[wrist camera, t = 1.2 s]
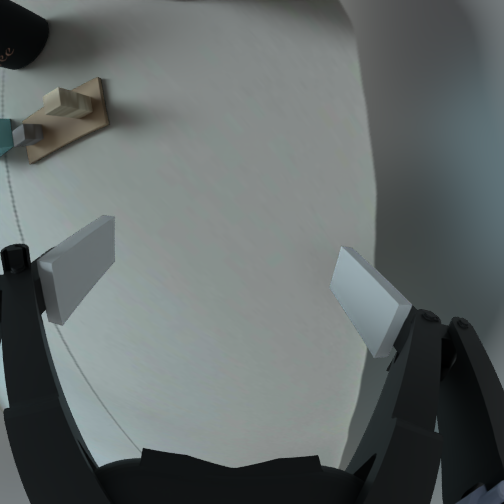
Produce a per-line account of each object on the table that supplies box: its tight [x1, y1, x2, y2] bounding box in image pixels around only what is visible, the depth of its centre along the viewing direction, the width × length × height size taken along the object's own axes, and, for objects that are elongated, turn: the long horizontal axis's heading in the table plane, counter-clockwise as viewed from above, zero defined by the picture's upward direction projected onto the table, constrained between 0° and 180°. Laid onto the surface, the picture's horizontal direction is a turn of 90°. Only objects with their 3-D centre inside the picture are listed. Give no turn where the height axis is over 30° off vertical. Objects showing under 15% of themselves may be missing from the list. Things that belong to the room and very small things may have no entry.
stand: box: [12, 77, 109, 164], centre depth 27 cm, size 8×16×10 cm, turn 103°
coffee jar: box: [0, 0, 49, 70], centre depth 16 cm, size 11×11×18 cm
